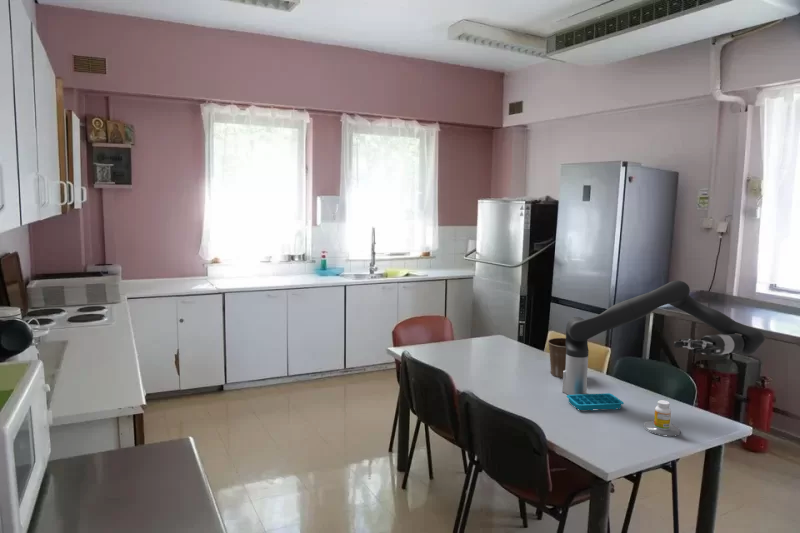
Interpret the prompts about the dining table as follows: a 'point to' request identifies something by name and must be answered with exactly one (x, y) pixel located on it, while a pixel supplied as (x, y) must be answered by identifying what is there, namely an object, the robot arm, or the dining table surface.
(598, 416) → the dining table surface
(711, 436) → the dining table surface
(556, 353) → the plant pot
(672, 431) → the coaster
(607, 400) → the ice cube tray
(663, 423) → the supplement bottle
